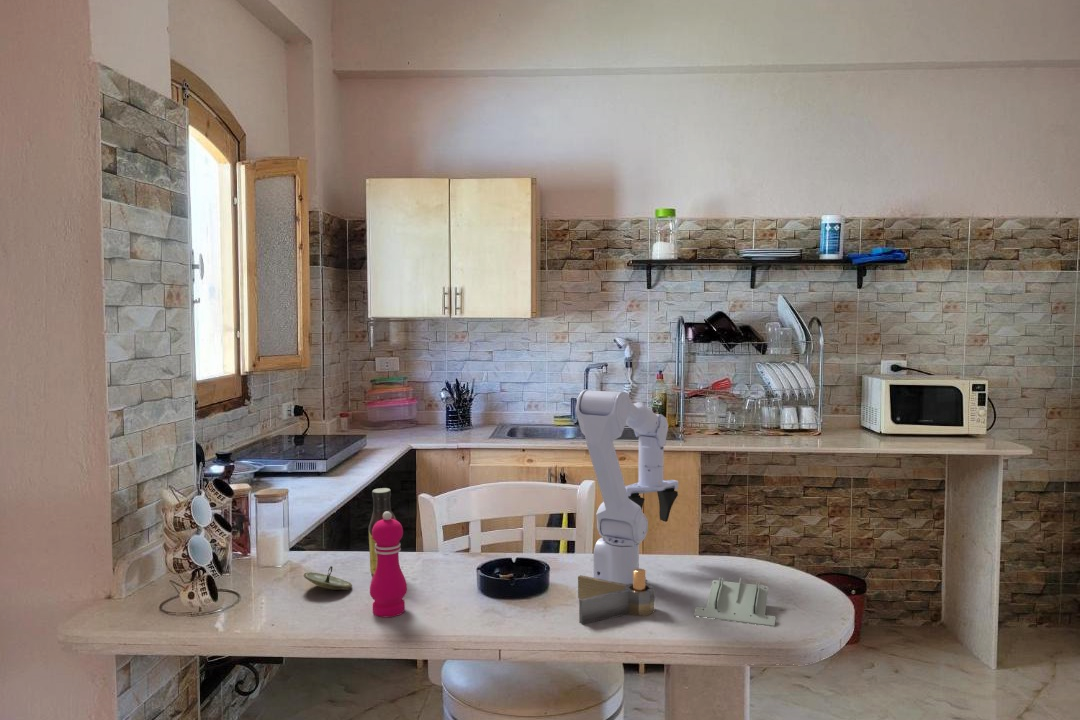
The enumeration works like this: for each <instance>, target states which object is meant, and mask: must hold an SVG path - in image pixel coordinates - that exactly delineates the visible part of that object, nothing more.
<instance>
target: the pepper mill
mask: <svg viewBox="0 0 1080 720" xmlns="http://www.w3.org/2000/svg"><path fill="white" fill-rule="evenodd" d="M391 517H392V514H391V513H390V512H388V511H386V512H384V513H383V519H382V520H380V521H378V522H377V523H376V524H375V525H374V526H373V529H372V538H373V540H374V541H375V542H376V544H375V552H376V553H377V567H376V571H375V574H374V576H373V579H371V582H370V585H369V595H370V597H371V599H373V600H374V601H373V602H372V614H373V615H374V616H377V617H381V618H392V617H397V616H399V615H401V614H403V613H404V612H405V610H406V607H405V606H406V604H405V603H406V602H405V599H403V598H404V597H406V595H407V592H408V584H407V581H406V578H405V576H404V574H403V571H402V569H401V566H400V562H399V560H400V559H398V555H399V554H400V553H399V552H401V550H402V548H401V542H400V541H401V540H402V538H403V534H404V528H403V526H402V523H400V521H398V520H397V519H396V520H394V519H391Z"/></svg>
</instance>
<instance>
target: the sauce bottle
mask: <svg viewBox="0 0 1080 720" xmlns="http://www.w3.org/2000/svg"><path fill="white" fill-rule="evenodd" d="M391 496H392V491H391V489H390V488H388V487H382V488H381V487H380V488H375V489H373V490H372V491H371V497H372V499H373V500H372V504H373V505H372V506H373V508H372V510H373V511H372V514H371V517H370V520H369V525H368V544H369V546H368V549H369V564H370V565H369V567H370V568H369V569H370V577H371V578H372V579H373V576H374V574H375V571H376V567H377V553H376V552H375V544H376V542H375V541H374V540H373V538H372V529H373V526H374V525H375V524H376V523H377V522H378V521H380V520H382V519H383V513H384V512H386V511H388V512H390V513H391V514H392V517H391V519H394V520H397V518H396V516H395V514H394V512H393V511H392V506H391ZM399 558H400V557H399V554H398V559H399ZM399 560H400V559H399ZM372 579H371V580H372Z"/></svg>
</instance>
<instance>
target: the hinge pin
mask: <svg viewBox="0 0 1080 720" xmlns="http://www.w3.org/2000/svg"><path fill="white" fill-rule="evenodd" d="M645 577H646V569H645V568H639V569H634V570H633V590H634V591H638V592H640V591H645V584H646V579H645Z"/></svg>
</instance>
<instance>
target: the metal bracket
mask: <svg viewBox="0 0 1080 720" xmlns="http://www.w3.org/2000/svg"><path fill="white" fill-rule="evenodd" d="M768 593H769V586H767V585H761V581H756V583H755V584H752V583H742V577H739V582H733V581H725V580H724V577H719V578H718V579H717V580H716V579H713V580H712V582H711V587H710V590H709V594H708V595H709V596H708V599H707V604H706V607H705V606H704V607H703V606H696V607H695V610H694V614H693V617H694V616H699V617H707V618H715V619H714V620H716V619H721V620H720V621H724V620H729V621H728V622H732V621H736V622H735V623H739V622H742V623H741V624H747V623H749V624H748V625H755V624H756V625H755V626H759V625H764V626H763V627H766V626H770V627H769V628H775V626H776V616H774V615H766V610H767V602H768Z"/></svg>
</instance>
